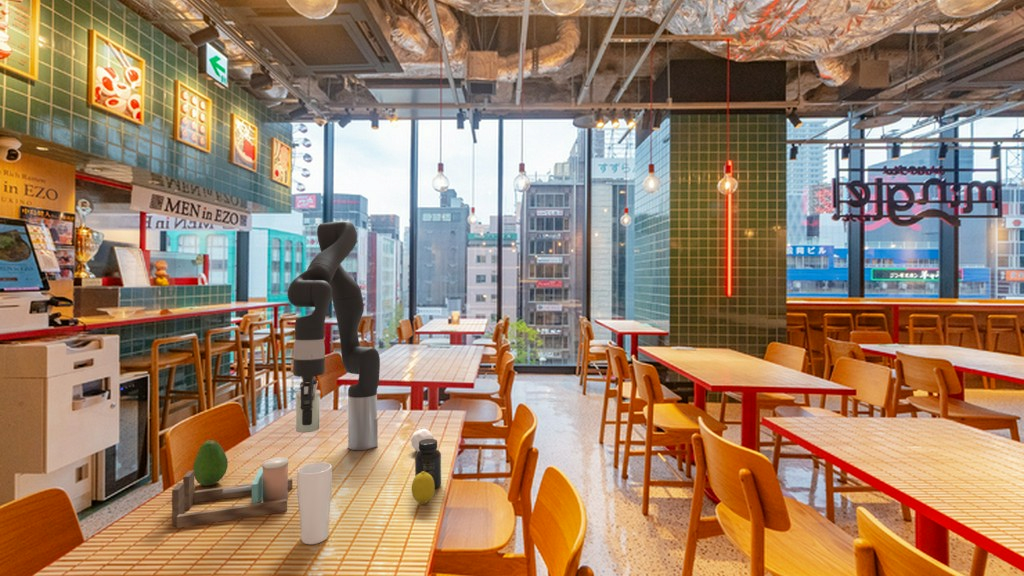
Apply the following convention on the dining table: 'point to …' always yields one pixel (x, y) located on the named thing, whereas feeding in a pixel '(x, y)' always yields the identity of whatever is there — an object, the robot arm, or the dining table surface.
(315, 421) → the sage jar
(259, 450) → the dining table surface
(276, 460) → the jar
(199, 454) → the fruit
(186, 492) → the lane
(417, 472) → the supplement bottle
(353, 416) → the robot arm
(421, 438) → the ornament
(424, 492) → the lemon
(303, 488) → the drinking glass
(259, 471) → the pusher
